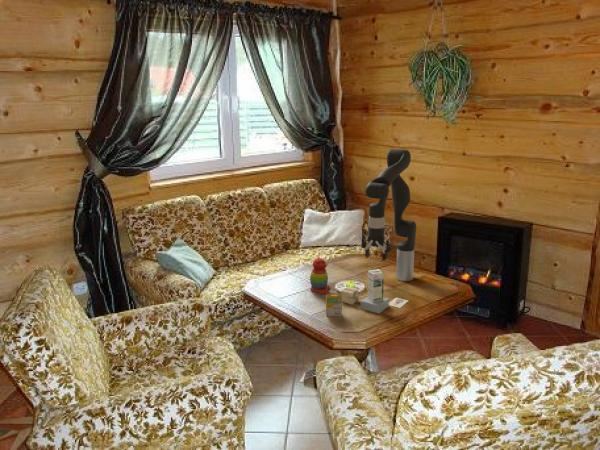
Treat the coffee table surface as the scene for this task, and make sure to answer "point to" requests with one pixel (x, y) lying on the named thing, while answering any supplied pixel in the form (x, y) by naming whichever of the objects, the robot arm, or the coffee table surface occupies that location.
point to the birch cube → (349, 295)
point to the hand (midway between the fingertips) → (375, 258)
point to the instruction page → (398, 302)
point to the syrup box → (375, 285)
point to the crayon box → (334, 304)
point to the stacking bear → (319, 277)
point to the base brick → (374, 305)
